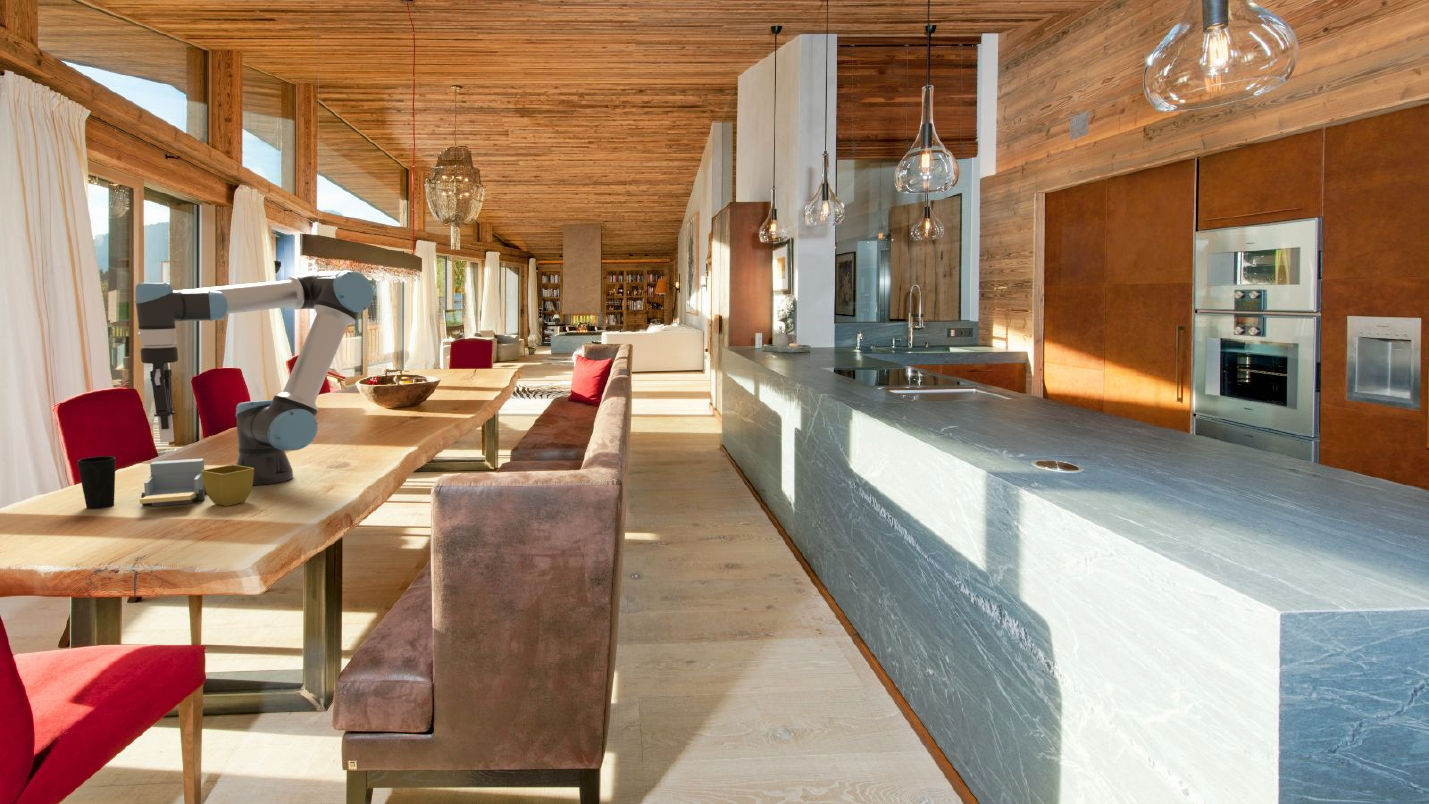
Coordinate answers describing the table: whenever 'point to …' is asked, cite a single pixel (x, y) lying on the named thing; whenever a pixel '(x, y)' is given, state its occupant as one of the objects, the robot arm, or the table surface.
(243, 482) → the flower pot
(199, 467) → the truck
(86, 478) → the cup
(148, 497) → the panel
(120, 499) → the table surface
